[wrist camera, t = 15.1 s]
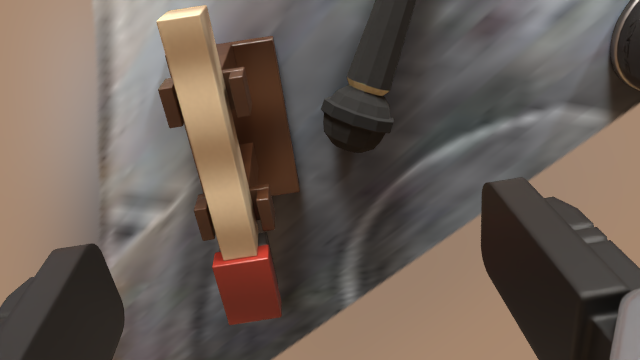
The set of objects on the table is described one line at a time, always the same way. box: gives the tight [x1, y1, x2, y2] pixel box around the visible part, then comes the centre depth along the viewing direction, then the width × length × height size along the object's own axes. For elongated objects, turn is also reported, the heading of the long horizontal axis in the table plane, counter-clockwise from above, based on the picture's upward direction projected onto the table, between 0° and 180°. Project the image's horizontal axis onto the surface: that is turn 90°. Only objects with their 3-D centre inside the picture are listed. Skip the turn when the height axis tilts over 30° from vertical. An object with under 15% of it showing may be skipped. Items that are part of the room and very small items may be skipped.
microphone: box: [321, 0, 416, 153], centre depth 36 cm, size 6×6×20 cm
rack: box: [158, 36, 300, 241], centre depth 36 cm, size 13×8×11 cm, turn 8°
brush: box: [157, 5, 282, 325], centre depth 31 cm, size 20×4×3 cm, turn 8°
